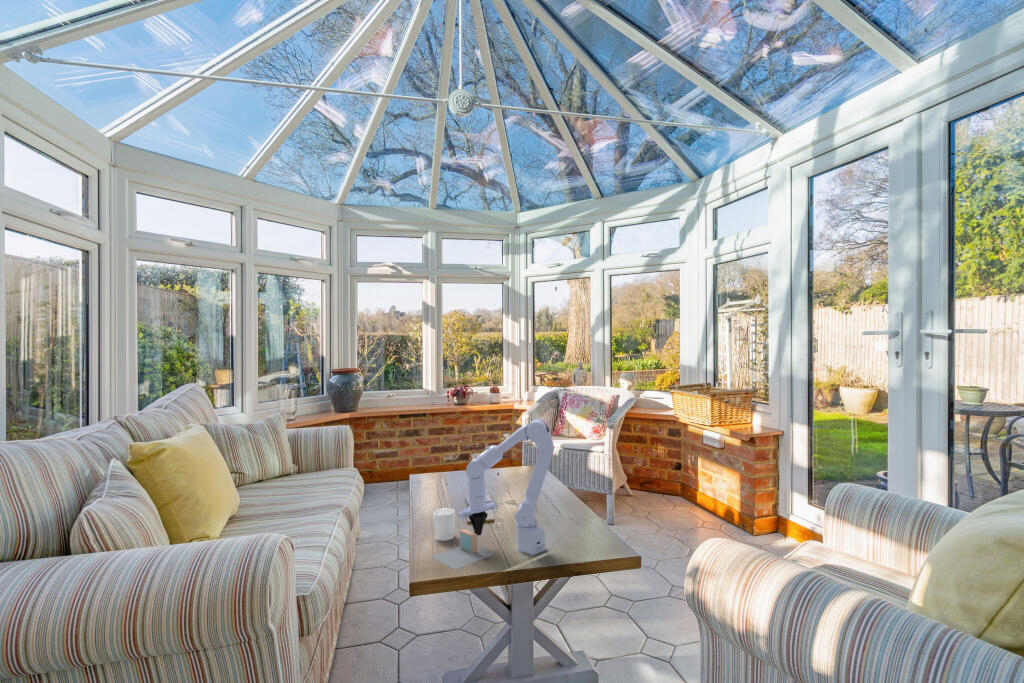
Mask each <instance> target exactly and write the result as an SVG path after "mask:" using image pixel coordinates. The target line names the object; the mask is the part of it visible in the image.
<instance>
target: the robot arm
mask: <svg viewBox="0 0 1024 683" xmlns="http://www.w3.org/2000/svg"><path fill="white" fill-rule="evenodd" d="M529 440H530V441H531V442H532V443H534V444H535V447H536V448H537V449H538V451H539V452H538V456H537V459H536V461H535V464H534V468H533V471H532V474H531V476H530V480H529V483H528V486H527V489H526V491H525V494H524V498H523V500H522V501H521V502H520V503H519V505H518V509H517V511H516V512H515V517H514V519H515V531H516V550H517V551H518V552H521V553H525V554H528V555H530V556H535V555H537V554H539V553H542V552H544V551H546V539H545V538H546V536H545V531H544V529H543V528H542V527H541V526H539V524H538V520H537V519H536V517H535V516H536V514H537V512H538V511H537V510H538V508H537V502H538V500H539V496H540V494H541V490H542V487H543V485H544V481H545V479H546V475H547V472H548V469H549V466H550V462H551V460H552V457H553V454H554V452H555V445H554V441H553V437H552V433H551V429H550V427H549V425H548V424H547V422H546V421H545V420H544V419H542V418H534V419H533V420H531V421H530V422H528V423H526V424H524V425H522V426H521V427H519V428H517V430H515V431H514V432H512V434H511V435H509V436H508V437H507V438H506V439H504V440H503V441H502V442H501V443H499V444H498V445H494V444H492V445H488V446H486V447H485V450H484V451H482V453H480V454H477V455H475V456H474V459H472V460H470V461H469V463H468V464H467V466H466V468H465V471H466V475H467V476H468V477H467V478H468V480H467V481H468V482H467V487H468V507H466V508H464V509H462V510H460V511H458V515H457V516H458V519H461V520H462V519H465V518H468V519H469V521H470V523H471V526H472V528H473V531H474V532H473V533H476V534H477V537H479V536H482V533H483V528H484V525H485V521H486V520H487V518H488V512H486V511H490V510H495V509H497V508H496V503H495V502H493V501H491V502H486V479H485V472H486V471H488V470H490V469H491V468H492V467H494V466H495V465H496V464H498V463H499V462H500V461H502V460H503V456H504V453H505V452H508V450H509V449H511V448H513V447H514V446H515V445H516V444H518V443H520V442H522V441H523V442H527V441H529Z"/></svg>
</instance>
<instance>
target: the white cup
mask: <svg viewBox="0 0 1024 683" xmlns="http://www.w3.org/2000/svg"><path fill="white" fill-rule="evenodd" d="M432 517H433V528H434V529H433V530H434V531H433V532H434V538H435V540H436V541H440V542H441V541H442V542H444V541H445V542H446V541H449V540H452V539H454V538H455V529H456V528H455V526H456V525H455V524H456V523H455V522H456V520H455V519H456V510H455V509H453V508H450V507H445V508H443V507H441V508H438V509H435V510H434V511H433V512H432Z"/></svg>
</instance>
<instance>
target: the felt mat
mask: <svg viewBox="0 0 1024 683" xmlns="http://www.w3.org/2000/svg"><path fill="white" fill-rule="evenodd" d="M494 555H495V553H493V552H491V551H489V550H486V549H484V548H482V547H480V546H478V545H477V553H474V554H472V553H470V552H467V551H465V550H463V549H461V548H460V545H459V546H457V547H454V548H451V549H447V550H445V551H442V552H439V553H436V554H434V555H431V556H430V558H432V559H433V560H435V561H438V562H440V563H441V564H443V565H445V566H447V567H449V568H451V569H452V570H454V571H455V570H459V569H462V568H463V567H465V566H469V565H471V564H474V563H475V562H479V561H481V560H482V561H483V560H484V559H486V558H490V557H491V556H494Z"/></svg>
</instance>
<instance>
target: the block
mask: <svg viewBox="0 0 1024 683" xmlns="http://www.w3.org/2000/svg"><path fill="white" fill-rule="evenodd" d="M459 546H460V548H461V549H463V550H465V551H467V552H470V553H472V554H474V553H477V546H478V535H477V534H476V533H475V532H473V531H471V530H468V529H465V528H463V529H460V530H459Z"/></svg>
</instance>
